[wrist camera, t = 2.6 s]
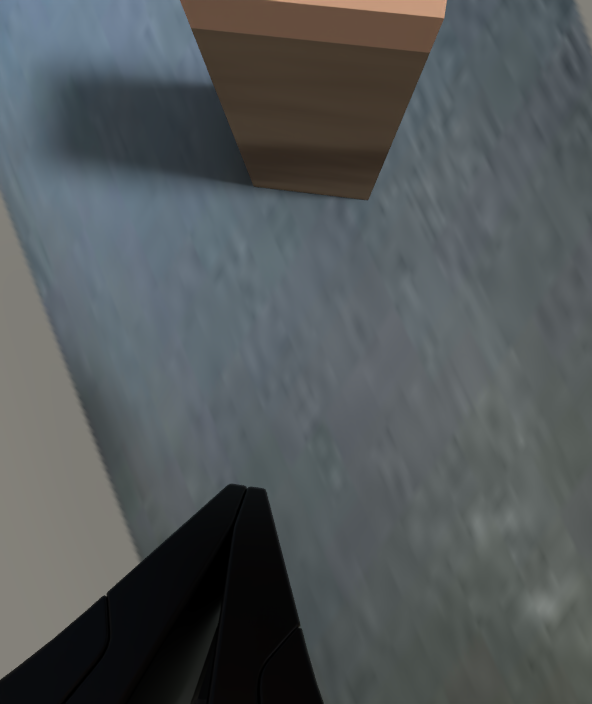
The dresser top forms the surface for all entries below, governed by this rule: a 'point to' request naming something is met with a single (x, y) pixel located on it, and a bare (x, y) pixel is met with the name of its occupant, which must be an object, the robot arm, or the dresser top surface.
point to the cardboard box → (315, 83)
